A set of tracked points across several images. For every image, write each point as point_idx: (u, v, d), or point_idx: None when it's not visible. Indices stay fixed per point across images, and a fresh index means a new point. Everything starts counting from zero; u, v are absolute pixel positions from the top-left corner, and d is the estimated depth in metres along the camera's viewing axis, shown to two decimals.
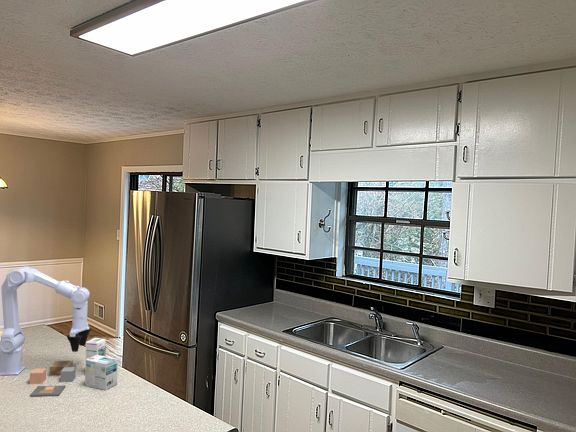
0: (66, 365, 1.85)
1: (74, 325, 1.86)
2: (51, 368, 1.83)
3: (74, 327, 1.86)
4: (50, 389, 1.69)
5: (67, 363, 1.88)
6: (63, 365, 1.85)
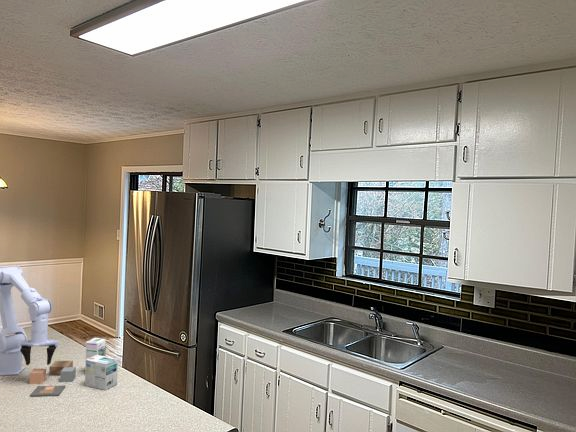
0: (66, 365, 1.85)
1: None
2: (51, 368, 1.83)
3: None
4: (50, 389, 1.69)
5: (67, 363, 1.88)
6: (63, 365, 1.85)
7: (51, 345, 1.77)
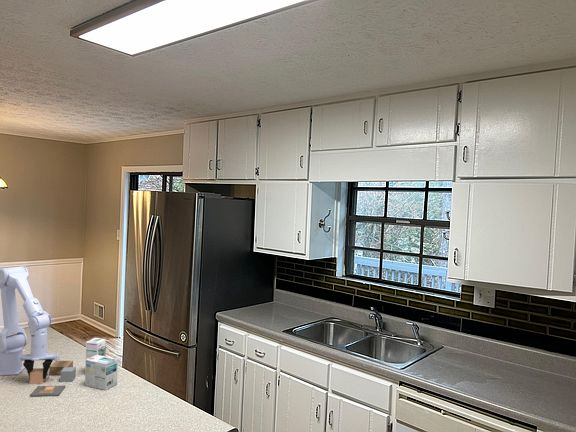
0: (66, 365, 1.85)
1: None
2: (51, 368, 1.83)
3: None
4: (50, 389, 1.69)
5: (67, 363, 1.88)
6: (63, 365, 1.85)
7: (50, 359, 1.77)
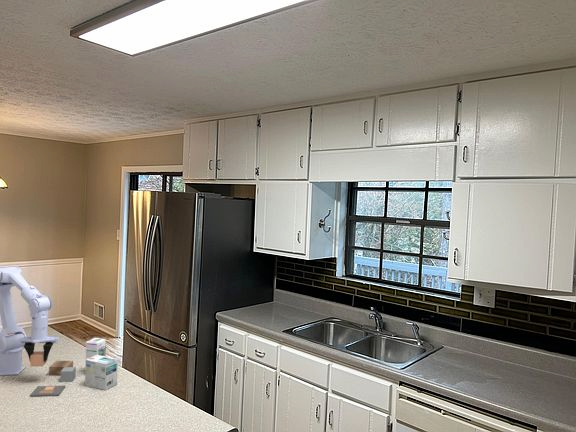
0: (65, 365, 1.85)
1: None
2: (51, 368, 1.83)
3: None
4: (50, 389, 1.69)
5: (67, 363, 1.88)
6: (63, 365, 1.85)
7: (51, 342, 1.77)
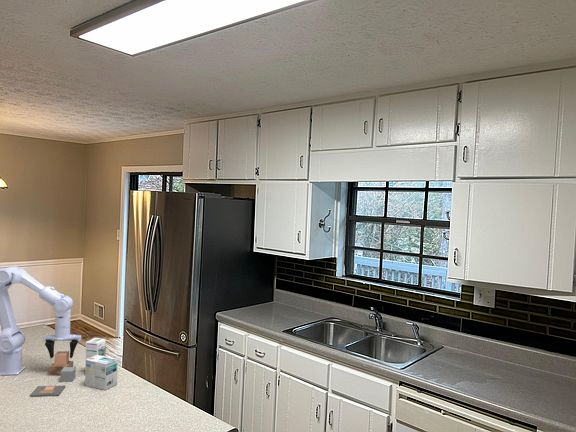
0: None
1: None
2: (50, 368, 1.83)
3: None
4: (50, 389, 1.69)
5: (67, 363, 1.88)
6: None
7: (73, 339, 1.87)
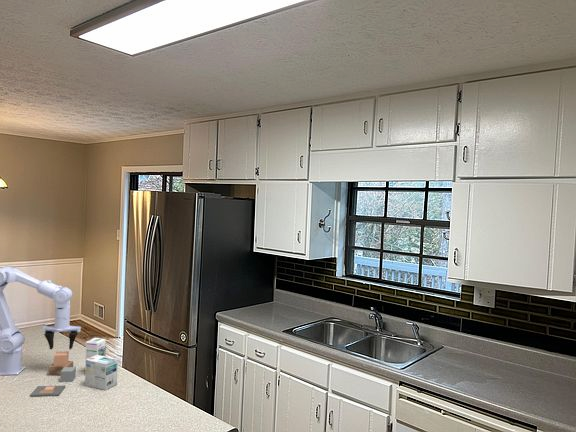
0: (65, 366, 1.85)
1: None
2: (50, 368, 1.83)
3: None
4: (50, 389, 1.69)
5: (67, 363, 1.88)
6: None
7: (73, 331, 1.88)
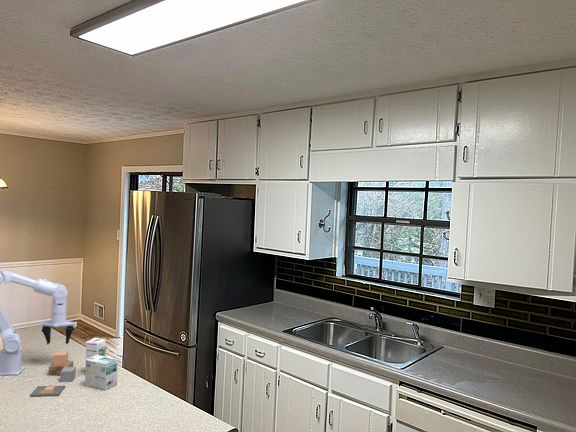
0: (65, 365, 1.85)
1: None
2: (50, 368, 1.83)
3: None
4: (50, 389, 1.69)
5: (67, 363, 1.88)
6: None
7: (69, 326, 1.94)
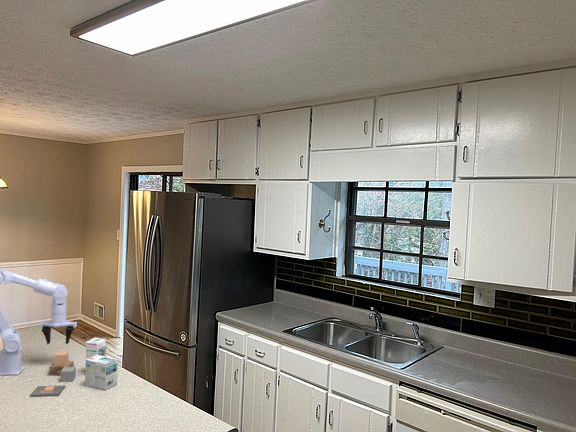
0: None
1: None
2: (51, 368, 1.83)
3: None
4: (50, 389, 1.69)
5: (68, 363, 1.88)
6: None
7: (69, 326, 1.94)
